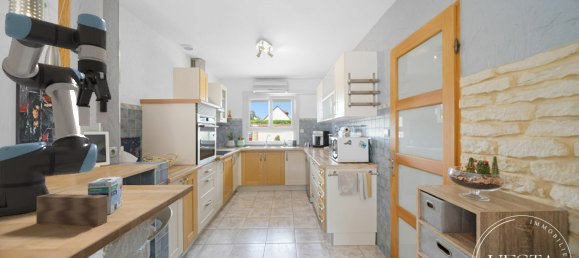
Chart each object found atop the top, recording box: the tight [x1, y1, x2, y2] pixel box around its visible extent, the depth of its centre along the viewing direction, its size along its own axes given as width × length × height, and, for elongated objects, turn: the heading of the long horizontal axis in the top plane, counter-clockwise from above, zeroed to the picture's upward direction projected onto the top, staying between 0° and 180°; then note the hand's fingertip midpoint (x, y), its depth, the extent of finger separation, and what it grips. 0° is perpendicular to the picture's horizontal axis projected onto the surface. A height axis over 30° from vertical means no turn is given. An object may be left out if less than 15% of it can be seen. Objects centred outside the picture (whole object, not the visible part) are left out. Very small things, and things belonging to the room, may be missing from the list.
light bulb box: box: [87, 176, 123, 215], centre depth 81 cm, size 11×7×11 cm, turn 18°
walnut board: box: [35, 193, 108, 227], centre depth 70 cm, size 20×3×8 cm, turn 84°
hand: (92, 124), depth 78 cm, fingers open, 13 cm apart
